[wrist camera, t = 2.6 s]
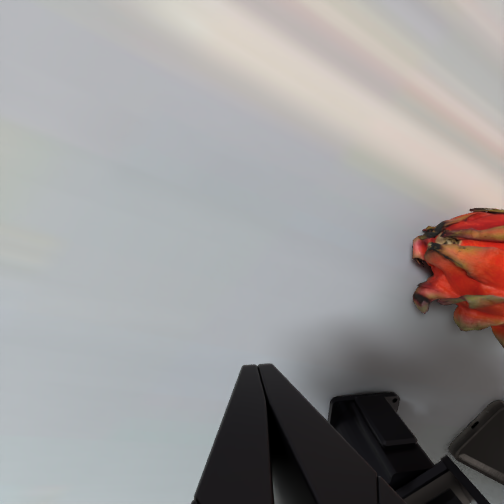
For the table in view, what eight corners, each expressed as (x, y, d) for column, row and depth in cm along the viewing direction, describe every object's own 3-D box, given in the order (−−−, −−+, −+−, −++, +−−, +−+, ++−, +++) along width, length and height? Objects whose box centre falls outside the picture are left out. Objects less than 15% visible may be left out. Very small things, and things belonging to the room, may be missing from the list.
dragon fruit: (474, 292, 23) (369, 229, 22) (603, 236, 17) (466, 145, 16) (516, 387, 17) (374, 306, 16) (740, 353, 11) (535, 218, 10)
